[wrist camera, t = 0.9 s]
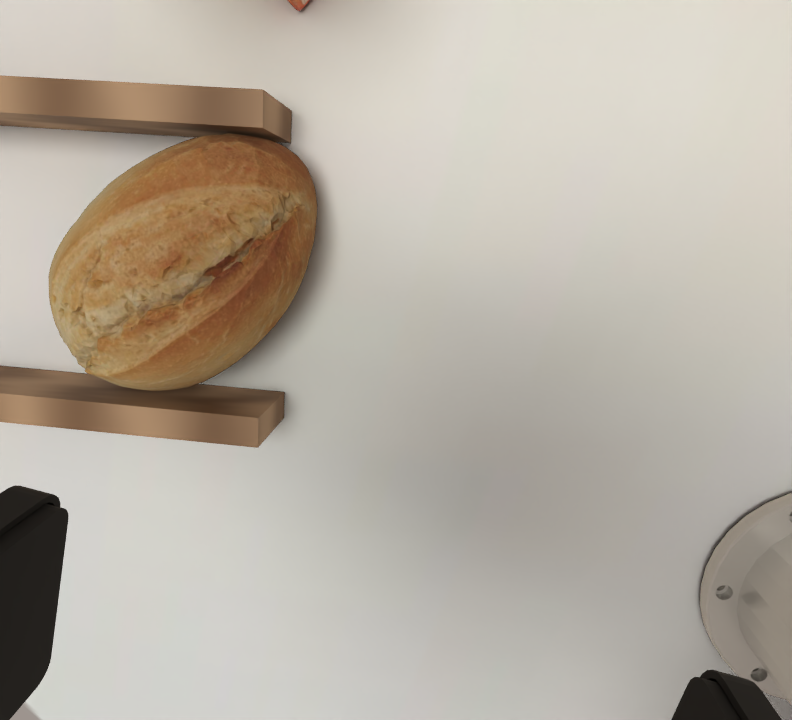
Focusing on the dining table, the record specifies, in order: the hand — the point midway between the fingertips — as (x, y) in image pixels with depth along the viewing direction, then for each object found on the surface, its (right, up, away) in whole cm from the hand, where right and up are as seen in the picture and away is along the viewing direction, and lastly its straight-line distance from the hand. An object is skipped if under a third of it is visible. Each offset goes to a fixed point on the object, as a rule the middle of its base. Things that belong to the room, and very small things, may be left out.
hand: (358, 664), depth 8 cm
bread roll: (-9, +9, +23) cm, 26 cm away
